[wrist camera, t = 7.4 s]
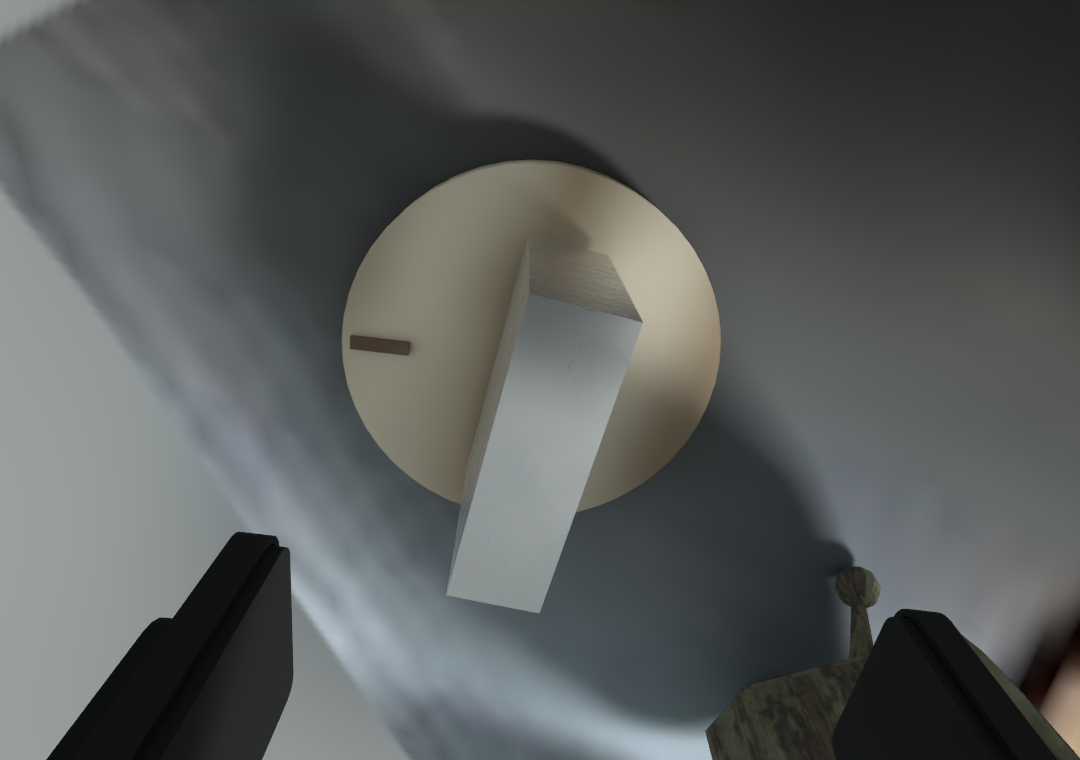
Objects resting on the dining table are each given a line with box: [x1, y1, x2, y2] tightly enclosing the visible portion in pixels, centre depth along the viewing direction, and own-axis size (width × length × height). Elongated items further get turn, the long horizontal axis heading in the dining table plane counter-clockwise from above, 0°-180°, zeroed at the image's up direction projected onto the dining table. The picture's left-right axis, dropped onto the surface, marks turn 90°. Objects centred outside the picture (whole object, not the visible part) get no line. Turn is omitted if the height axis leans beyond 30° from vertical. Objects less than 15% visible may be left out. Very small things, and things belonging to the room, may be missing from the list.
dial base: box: [342, 159, 721, 512], centre depth 21 cm, size 12×12×2 cm
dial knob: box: [446, 233, 643, 614], centre depth 17 cm, size 10×2×6 cm, turn 165°
